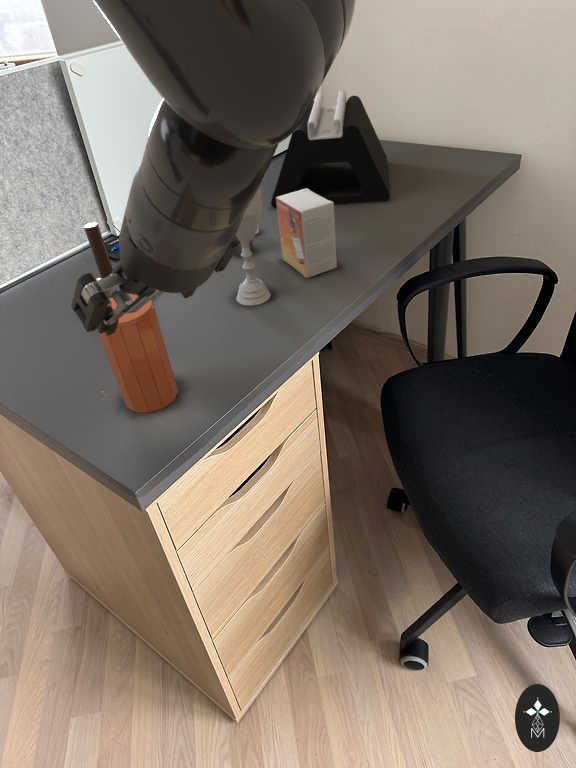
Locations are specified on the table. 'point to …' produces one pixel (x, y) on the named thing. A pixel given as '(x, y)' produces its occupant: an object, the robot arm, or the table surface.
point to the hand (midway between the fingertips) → (144, 306)
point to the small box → (307, 232)
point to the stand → (98, 250)
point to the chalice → (251, 287)
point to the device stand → (335, 155)
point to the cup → (140, 360)
